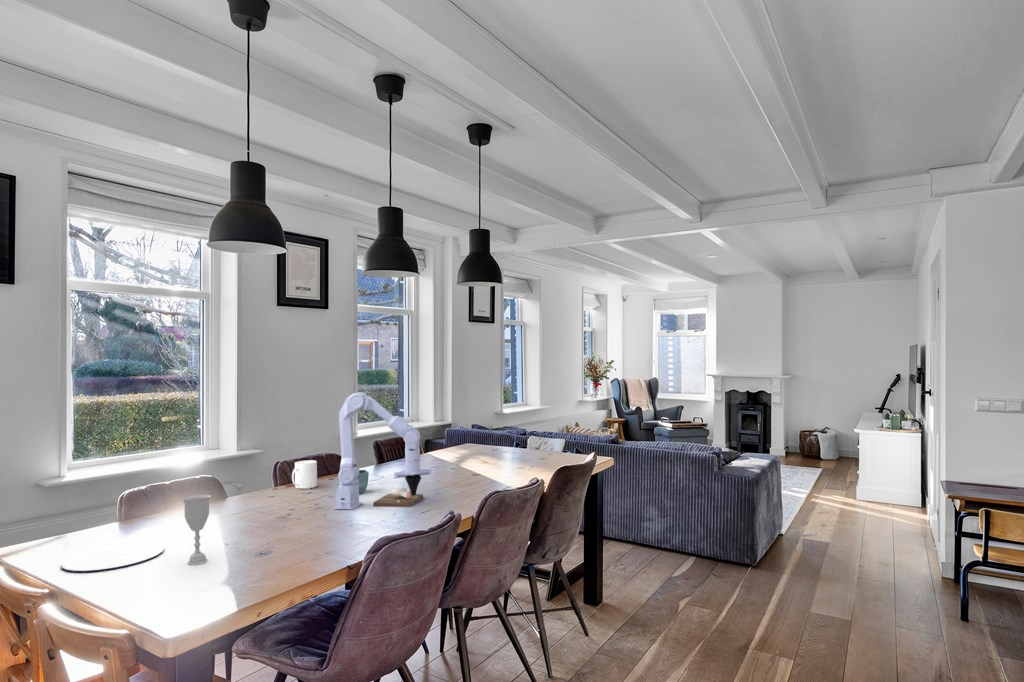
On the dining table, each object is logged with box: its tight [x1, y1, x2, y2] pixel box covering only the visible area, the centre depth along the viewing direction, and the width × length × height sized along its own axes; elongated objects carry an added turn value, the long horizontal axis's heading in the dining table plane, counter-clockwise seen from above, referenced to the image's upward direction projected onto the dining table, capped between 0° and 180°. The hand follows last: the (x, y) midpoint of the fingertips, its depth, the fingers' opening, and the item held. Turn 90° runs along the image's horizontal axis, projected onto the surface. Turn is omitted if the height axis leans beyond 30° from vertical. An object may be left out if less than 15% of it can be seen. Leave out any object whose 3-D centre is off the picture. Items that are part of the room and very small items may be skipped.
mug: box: [291, 459, 318, 489], centre depth 271 cm, size 10×12×12 cm
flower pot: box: [357, 469, 370, 494], centre depth 258 cm, size 9×9×9 cm
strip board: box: [372, 493, 424, 508], centre depth 238 cm, size 15×15×3 cm
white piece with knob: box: [390, 487, 411, 498], centre depth 235 cm, size 13×6×2 cm, turn 35°
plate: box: [60, 542, 165, 573], centre depth 175 cm, size 25×25×1 cm
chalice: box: [182, 494, 212, 566], centre depth 170 cm, size 7×7×18 cm
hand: (413, 494), depth 234 cm, fingers closed
